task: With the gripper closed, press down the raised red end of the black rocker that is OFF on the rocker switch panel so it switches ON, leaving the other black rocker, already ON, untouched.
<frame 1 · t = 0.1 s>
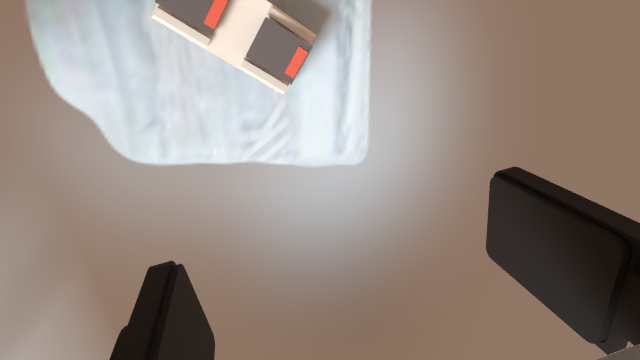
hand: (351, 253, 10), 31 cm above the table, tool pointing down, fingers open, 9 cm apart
rocker switch panel: (238, 27, 34), on the table
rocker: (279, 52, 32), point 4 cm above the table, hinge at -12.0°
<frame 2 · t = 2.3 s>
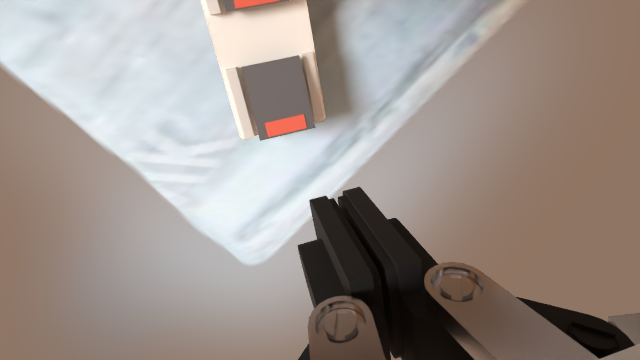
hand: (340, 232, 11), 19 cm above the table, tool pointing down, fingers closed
rocker switch panel: (259, 34, 26), on the table
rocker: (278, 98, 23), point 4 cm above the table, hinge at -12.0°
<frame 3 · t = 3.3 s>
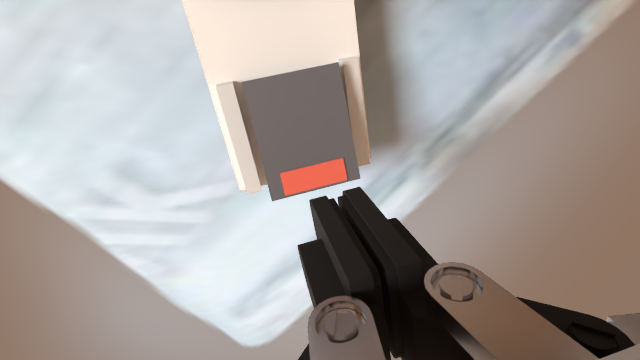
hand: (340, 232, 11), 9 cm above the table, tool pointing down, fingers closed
rocker switch panel: (270, 28, 17), on the table
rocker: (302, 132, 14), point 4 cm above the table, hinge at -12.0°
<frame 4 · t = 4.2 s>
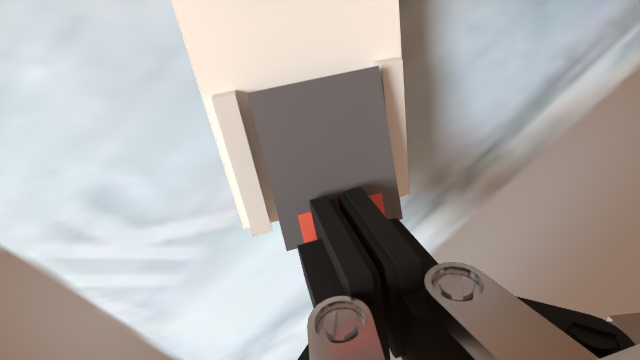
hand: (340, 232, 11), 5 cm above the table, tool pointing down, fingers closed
rocker switch panel: (283, 21, 13), on the table
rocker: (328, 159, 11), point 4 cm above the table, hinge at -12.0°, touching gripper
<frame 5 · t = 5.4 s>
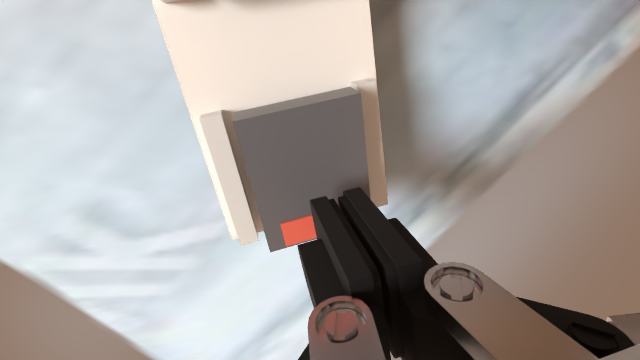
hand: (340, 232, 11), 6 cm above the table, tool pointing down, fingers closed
rocker switch panel: (267, 44, 14), on the table
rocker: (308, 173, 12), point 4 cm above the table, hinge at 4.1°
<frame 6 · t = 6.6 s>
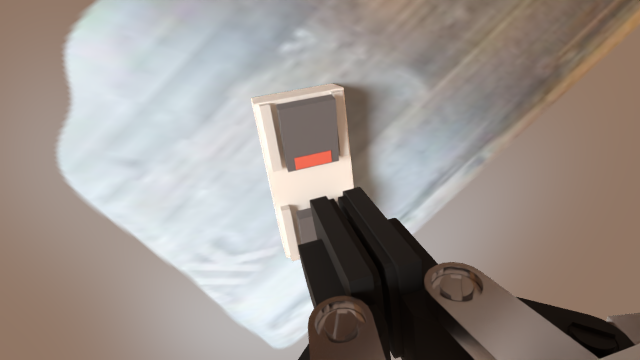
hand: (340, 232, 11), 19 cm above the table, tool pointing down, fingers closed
rocker switch panel: (304, 167, 30), on the table
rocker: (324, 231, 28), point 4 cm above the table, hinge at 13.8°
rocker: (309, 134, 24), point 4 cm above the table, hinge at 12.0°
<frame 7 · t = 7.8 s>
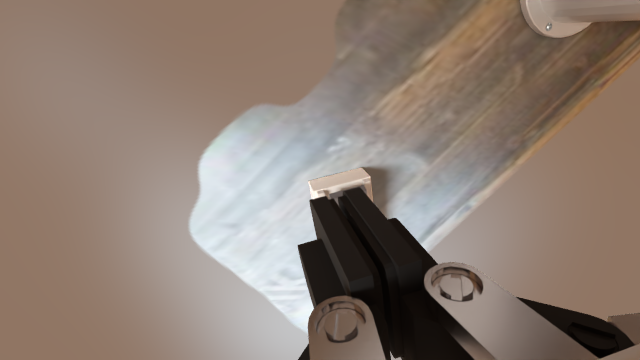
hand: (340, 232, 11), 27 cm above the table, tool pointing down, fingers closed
rocker switch panel: (342, 220, 43), on the table
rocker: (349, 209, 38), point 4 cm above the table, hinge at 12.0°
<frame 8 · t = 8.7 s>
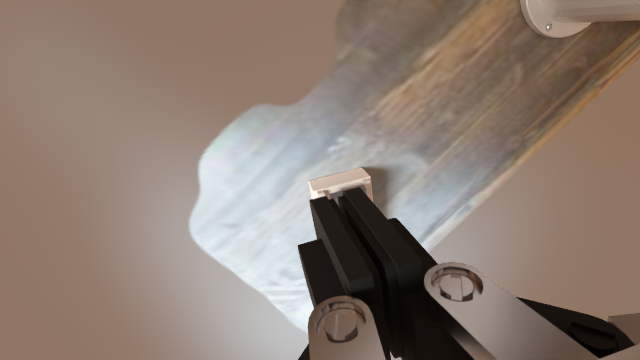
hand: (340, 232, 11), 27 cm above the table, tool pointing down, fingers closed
rocker switch panel: (342, 220, 43), on the table
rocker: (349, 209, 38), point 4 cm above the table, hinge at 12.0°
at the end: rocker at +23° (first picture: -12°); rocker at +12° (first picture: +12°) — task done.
